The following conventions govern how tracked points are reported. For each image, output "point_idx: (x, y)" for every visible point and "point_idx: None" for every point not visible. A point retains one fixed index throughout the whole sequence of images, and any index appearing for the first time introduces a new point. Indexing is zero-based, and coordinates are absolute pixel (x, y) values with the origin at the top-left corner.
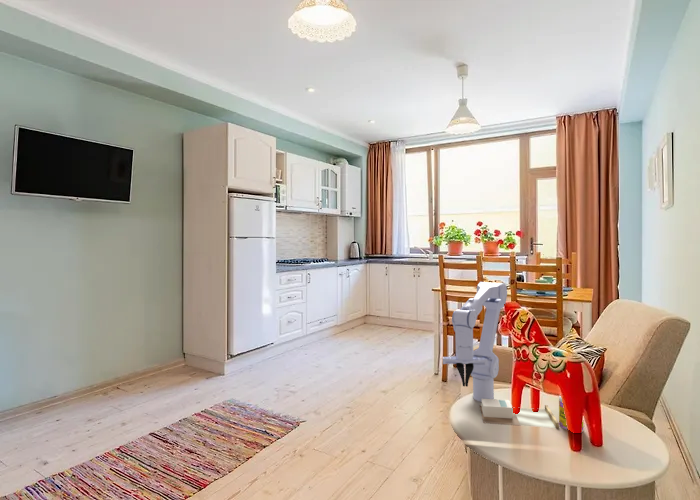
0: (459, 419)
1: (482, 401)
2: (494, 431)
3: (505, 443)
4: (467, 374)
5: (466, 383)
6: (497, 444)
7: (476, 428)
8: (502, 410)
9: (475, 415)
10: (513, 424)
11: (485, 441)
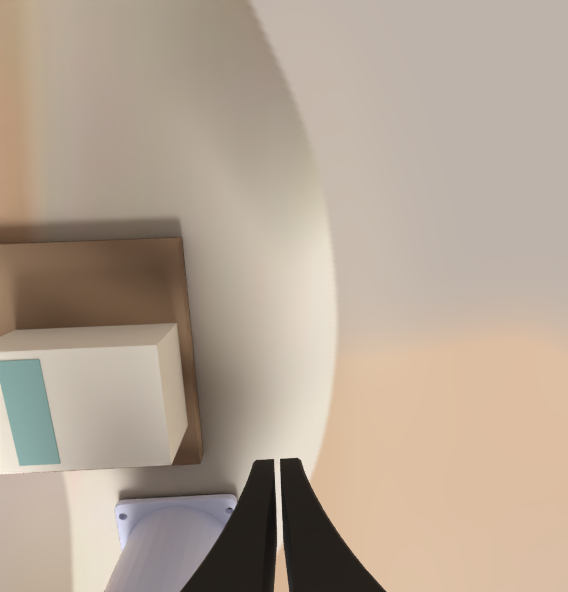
0: (309, 297)
1: (164, 420)
2: (122, 179)
3: (58, 28)
4: (241, 568)
5: (264, 476)
6: (102, 4)
7: (220, 199)
8: (43, 342)
9: (224, 363)
10: (7, 249)
11: (170, 32)
